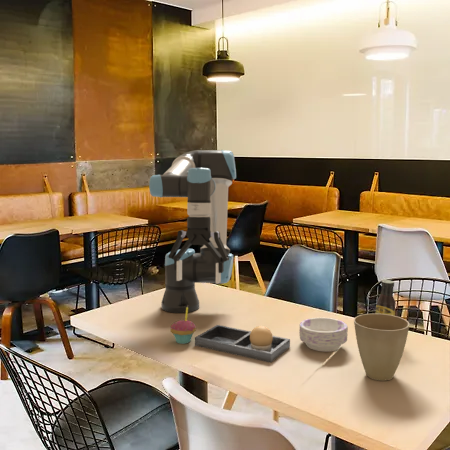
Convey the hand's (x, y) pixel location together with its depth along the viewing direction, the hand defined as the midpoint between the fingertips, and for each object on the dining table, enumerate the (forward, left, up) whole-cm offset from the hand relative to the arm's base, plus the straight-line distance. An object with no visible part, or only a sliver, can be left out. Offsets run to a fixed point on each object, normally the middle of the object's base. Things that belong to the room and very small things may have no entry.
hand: (198, 281), depth 175 cm
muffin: (+22, +2, -20) cm, 29 cm away
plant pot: (+58, +4, -21) cm, 62 cm away
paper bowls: (+37, +16, -21) cm, 45 cm away
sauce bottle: (+52, +34, -21) cm, 66 cm away
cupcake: (-5, -2, -21) cm, 22 cm away
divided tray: (+15, +2, -21) cm, 26 cm away
